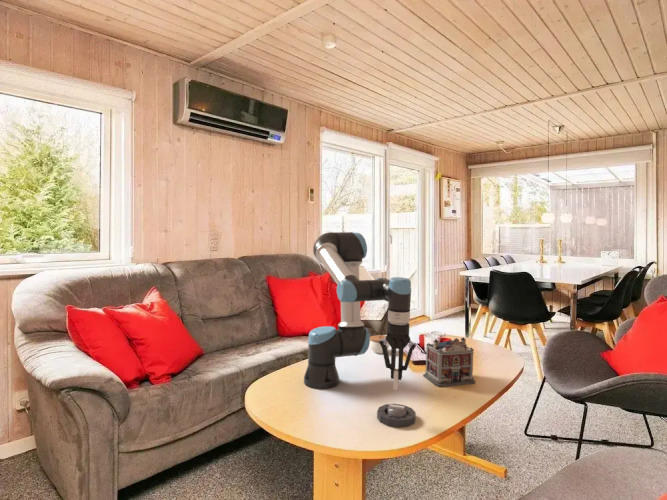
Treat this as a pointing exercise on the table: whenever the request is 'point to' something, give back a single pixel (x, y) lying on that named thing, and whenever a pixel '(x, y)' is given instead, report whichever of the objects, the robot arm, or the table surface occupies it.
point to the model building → (449, 363)
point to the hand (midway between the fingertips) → (395, 387)
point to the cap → (396, 410)
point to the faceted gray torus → (396, 421)
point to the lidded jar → (377, 344)
